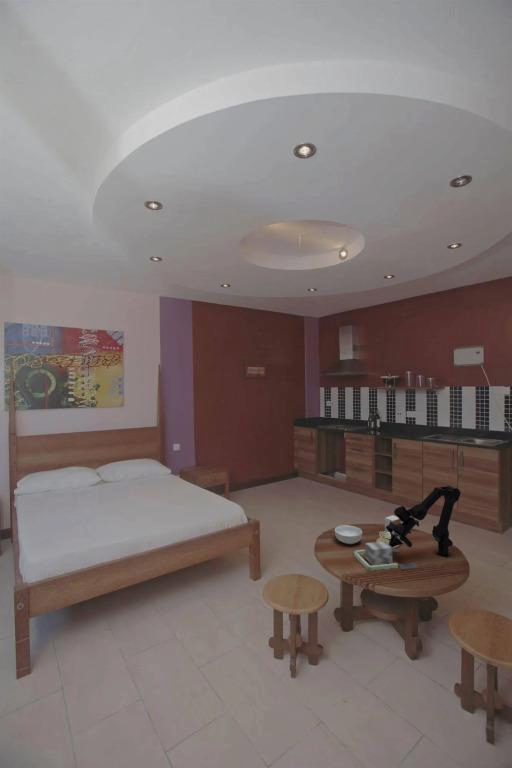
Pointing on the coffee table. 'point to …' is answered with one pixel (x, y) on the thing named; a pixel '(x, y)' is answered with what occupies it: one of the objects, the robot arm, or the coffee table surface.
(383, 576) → the coffee table surface
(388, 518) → the small box
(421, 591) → the coffee table surface
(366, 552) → the block
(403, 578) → the coffee table surface
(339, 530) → the cereal bowl
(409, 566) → the green u-shaped guide frame
